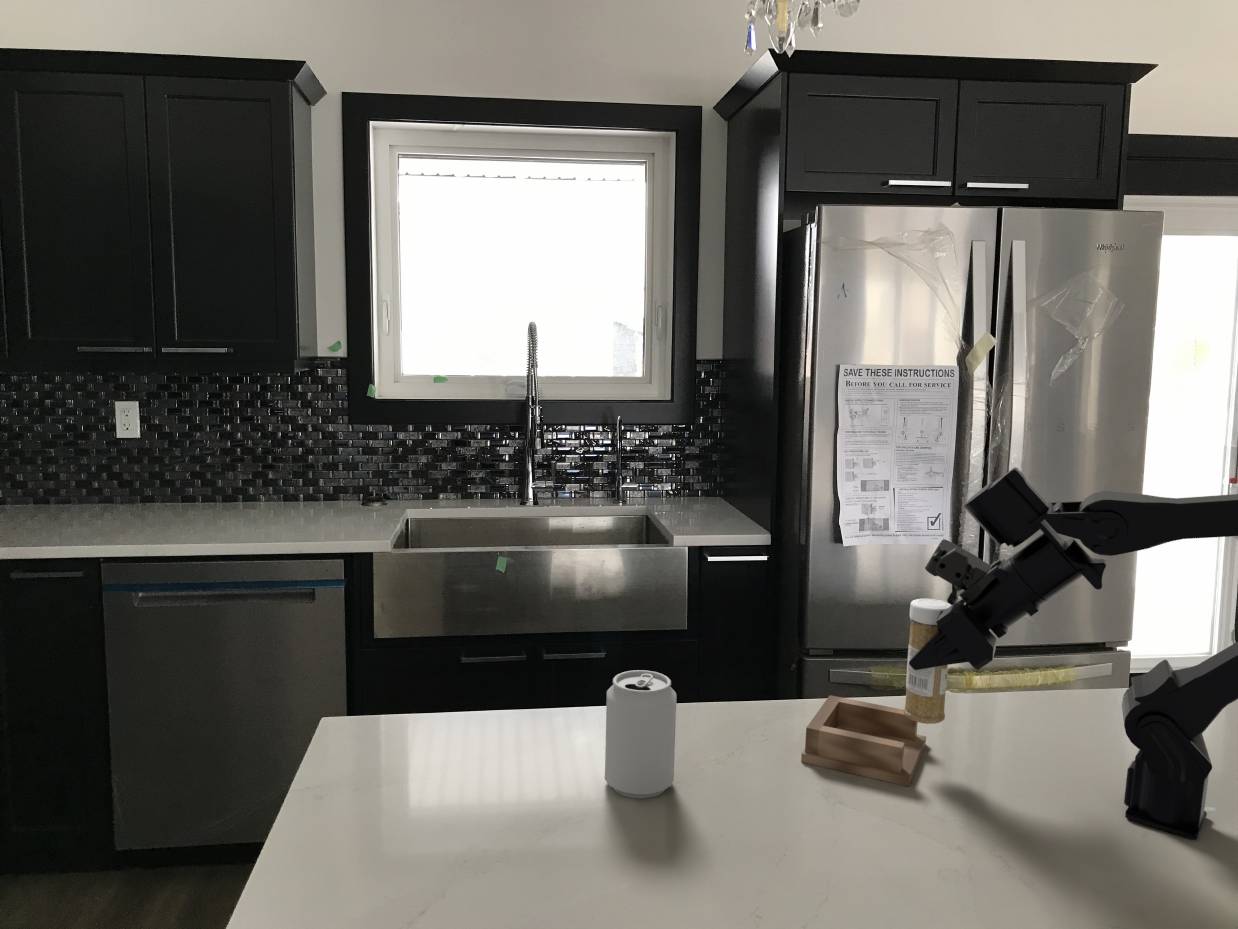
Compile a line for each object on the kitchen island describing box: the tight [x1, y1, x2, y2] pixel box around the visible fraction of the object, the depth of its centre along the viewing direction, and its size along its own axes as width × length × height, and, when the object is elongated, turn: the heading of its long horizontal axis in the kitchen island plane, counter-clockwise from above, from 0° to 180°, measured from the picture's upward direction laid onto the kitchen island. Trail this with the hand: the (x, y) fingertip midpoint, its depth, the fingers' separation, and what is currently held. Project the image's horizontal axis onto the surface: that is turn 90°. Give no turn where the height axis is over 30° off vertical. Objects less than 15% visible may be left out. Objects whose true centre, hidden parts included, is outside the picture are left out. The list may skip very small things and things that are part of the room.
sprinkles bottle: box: [903, 598, 952, 725], centre depth 106 cm, size 5×5×13 cm
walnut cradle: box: [800, 694, 927, 787], centre depth 110 cm, size 12×12×4 cm
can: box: [604, 669, 677, 799], centre depth 100 cm, size 8×8×12 cm
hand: (915, 659), depth 106 cm, fingers closed on sprinkles bottle, 4 cm apart
